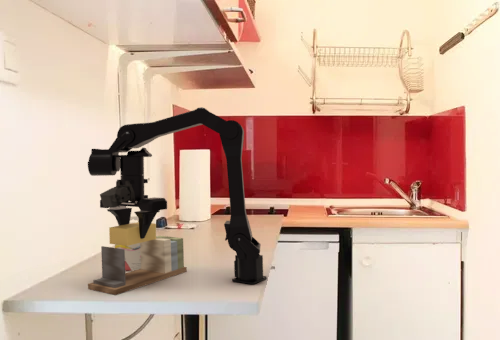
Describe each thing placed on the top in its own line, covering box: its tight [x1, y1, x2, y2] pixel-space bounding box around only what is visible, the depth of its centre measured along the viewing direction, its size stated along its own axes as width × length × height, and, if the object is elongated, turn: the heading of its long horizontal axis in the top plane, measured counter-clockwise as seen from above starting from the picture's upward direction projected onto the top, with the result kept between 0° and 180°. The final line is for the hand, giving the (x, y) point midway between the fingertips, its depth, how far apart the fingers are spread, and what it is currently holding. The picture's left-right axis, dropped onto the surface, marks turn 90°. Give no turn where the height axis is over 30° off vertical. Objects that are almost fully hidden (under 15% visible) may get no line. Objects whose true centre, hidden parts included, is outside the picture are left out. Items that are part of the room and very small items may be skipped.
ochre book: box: [108, 221, 157, 246], centre depth 111 cm, size 6×10×4 cm, turn 150°
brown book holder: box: [87, 235, 188, 296], centre depth 113 cm, size 10×24×10 cm, turn 146°
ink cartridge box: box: [114, 215, 141, 272], centre depth 125 cm, size 9×5×15 cm, turn 92°
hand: (133, 237), depth 111 cm, fingers closed on ochre book, 6 cm apart
